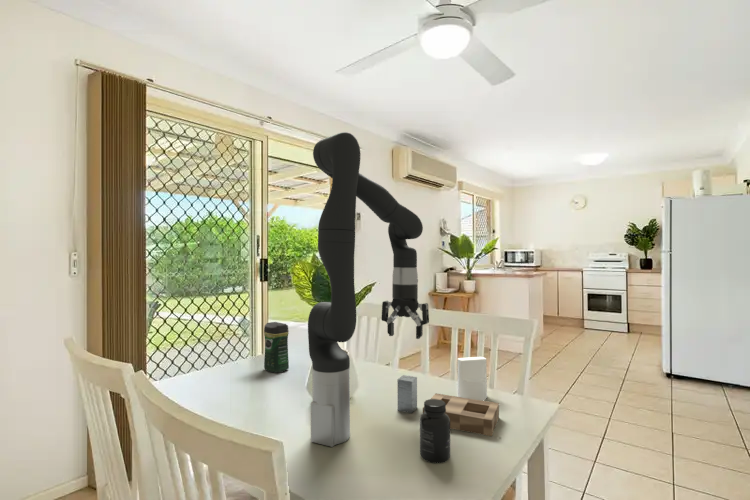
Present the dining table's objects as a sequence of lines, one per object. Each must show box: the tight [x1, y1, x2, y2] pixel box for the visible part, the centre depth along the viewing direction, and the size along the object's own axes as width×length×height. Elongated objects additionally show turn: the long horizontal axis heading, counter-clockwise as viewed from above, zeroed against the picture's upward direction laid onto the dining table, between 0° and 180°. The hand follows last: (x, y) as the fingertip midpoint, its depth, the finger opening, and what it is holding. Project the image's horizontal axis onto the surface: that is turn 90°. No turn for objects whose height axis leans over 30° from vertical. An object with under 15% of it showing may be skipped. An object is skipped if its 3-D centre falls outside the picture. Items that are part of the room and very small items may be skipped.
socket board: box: [422, 393, 500, 437], centre depth 106 cm, size 12×18×4 cm, turn 64°
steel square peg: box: [397, 374, 418, 414], centre depth 114 cm, size 4×4×9 cm
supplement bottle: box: [419, 398, 451, 464], centre depth 87 cm, size 7×7×12 cm
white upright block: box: [457, 356, 488, 401], centre depth 123 cm, size 9×9×12 cm
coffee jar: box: [263, 321, 290, 373], centre depth 152 cm, size 10×8×19 cm
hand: (404, 337), depth 116 cm, fingers open, 8 cm apart
